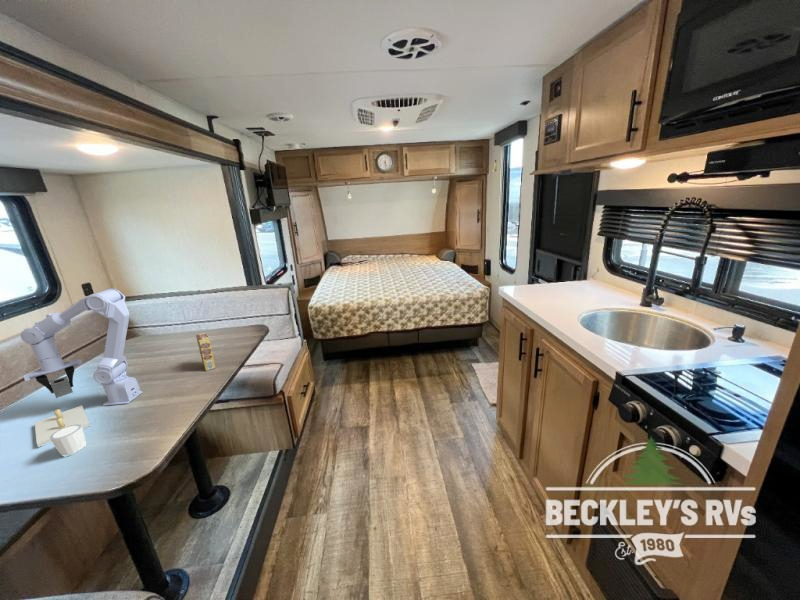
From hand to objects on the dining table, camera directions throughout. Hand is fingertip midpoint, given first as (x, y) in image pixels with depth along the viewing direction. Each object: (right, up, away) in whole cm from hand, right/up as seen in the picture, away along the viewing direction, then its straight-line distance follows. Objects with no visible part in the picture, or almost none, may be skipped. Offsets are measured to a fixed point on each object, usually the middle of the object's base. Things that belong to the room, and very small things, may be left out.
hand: (62, 389), depth 116 cm
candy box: (+38, +2, +28) cm, 48 cm away
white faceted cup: (+27, -13, -21) cm, 36 cm away
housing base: (+10, -10, -9) cm, 17 cm away
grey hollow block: (0, -1, 0) cm, 1 cm away
